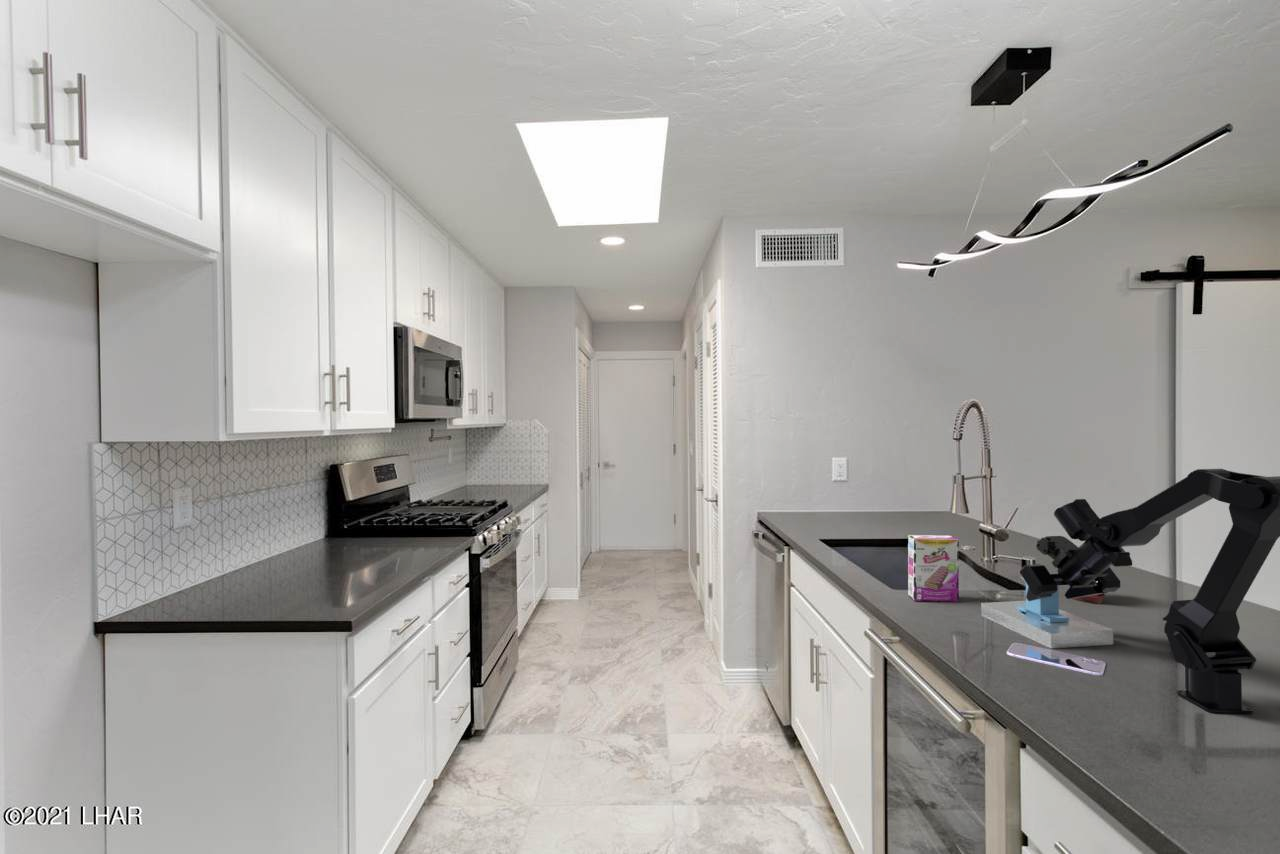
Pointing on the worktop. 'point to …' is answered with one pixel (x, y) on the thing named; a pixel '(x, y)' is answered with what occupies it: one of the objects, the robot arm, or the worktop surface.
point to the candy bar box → (933, 568)
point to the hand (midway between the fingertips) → (1047, 598)
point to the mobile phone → (1057, 658)
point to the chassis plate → (1048, 626)
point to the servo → (1044, 608)
